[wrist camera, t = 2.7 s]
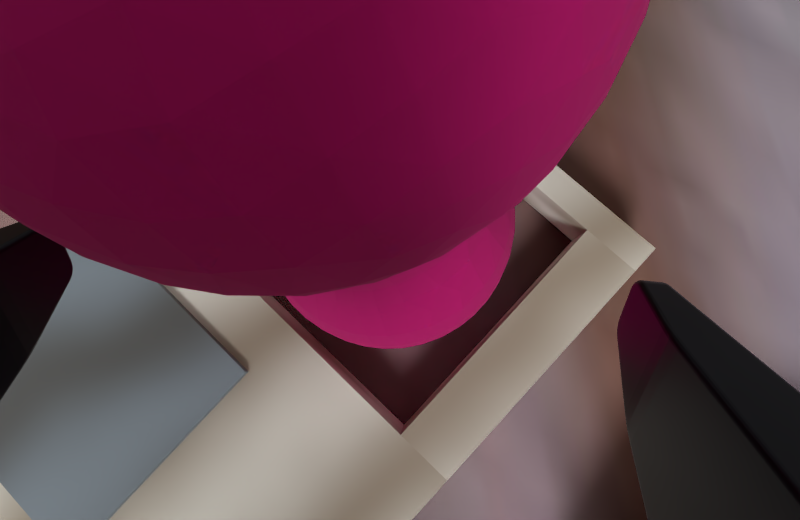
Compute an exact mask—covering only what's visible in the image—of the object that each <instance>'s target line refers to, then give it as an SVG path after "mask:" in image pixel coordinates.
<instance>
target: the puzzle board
mask: <svg viewBox="0 0 800 520" xmlns="http://www.w3.org/2000/svg"><path fill="white" fill-rule="evenodd" d="M524 200H525V201H526V202H527V203H528V204H530V205H531V206H532V207H533V208H534V209H535V210H537V211H538V212H539V213H540V214H541V215H542V216H544V217H545V218H546V219H547V220H548V221H549V222H551V223H552V224H553V225H554V226H555V227H556V228H558V229H559V230H560V231H561V232H562V233H563V234H565V235H566V236H567V237H568V238H569V239H570V240H572V241H571V242H570V243H569V244H568V246H567V247H566V248H565V249H564V250H563V251H562V252H561V253H560V254H559V255H558V257H557V258H556V259H555V260H554V261H553V262H552V263H551V264H550V265H549V266H548V267H547V269H546V270H545V271H544V272H543V273H542V274H541V275H540V276H539V277H538V278H537V280H536V281H535V282H534V283H533V284H532V285H531V286H530V287H529V288H528V289H527V291H526V292H525V293H524V294H523V295H522V296H521V297H520V298H519V299H518V300H517V302H516V303H515V304H514V305H513V306H512V307H511V308H510V309H509V310H508V311H507V312H506V314H505V315H504V316H503V317H502V318H501V319H500V320H499V321H498V322H497V323H496V325H495V326H494V327H493V328H492V329H491V330H490V331H489V332H488V333H487V334H486V336H485V337H484V338H483V339H482V340H481V341H480V342H479V343H478V344H477V345H476V346H475V348H474V349H473V350H472V351H471V352H470V353H469V354H468V355H467V356H466V357H465V359H464V360H463V361H462V362H461V363H460V364H459V365H458V366H457V367H456V368H455V370H454V371H453V372H452V373H451V374H450V375H449V376H448V377H447V378H446V379H445V381H444V382H443V383H442V384H441V385H440V386H439V387H438V388H437V389H436V390H435V391H434V393H433V394H432V395H431V396H430V397H429V398H428V399H427V400H426V401H425V402H424V404H423V405H422V406H421V407H420V408H419V409H418V410H417V411H416V412H415V413H414V415H413V416H412V417H411V418H410V419H409V420H408V421H407V422H406V423H405V424H403V423H402V422H401V421H400V420H399V419H398V418H396V417H395V416H394V415H393V414H392V413H391V412H390V411H389V410H388V409H387V408H386V407H385V406H384V405H383V404H382V403H381V402H380V401H379V400H378V399H377V398H376V397H375V396H374V395H373V394H372V393H371V392H370V391H369V390H368V389H367V388H366V387H365V386H364V385H363V384H362V383H361V382H360V381H359V380H358V379H357V378H356V377H355V376H354V375H353V374H351V373H350V372H349V371H348V370H347V369H346V368H345V367H344V366H343V365H342V364H341V363H340V362H339V361H338V360H337V359H336V358H335V357H334V356H333V355H332V354H331V353H330V352H329V351H328V350H327V349H326V348H325V347H324V346H323V345H322V344H321V343H320V342H319V341H318V340H317V339H316V338H315V337H314V336H313V335H312V334H311V333H310V332H309V331H308V330H306V329H305V328H304V327H303V326H302V325H301V324H300V323H299V322H298V321H297V320H296V319H295V318H294V317H293V316H292V315H291V314H290V313H289V312H288V311H287V310H286V309H285V308H284V307H283V306H282V305H281V304H280V303H279V302H278V301H277V300H276V299H275V298H274V297H273V296H226V295H220V294H214V293H209V292H203V291H197V290H191V289H185V288H179V287H173V286H167V285H163V284H160V283H157V282H154V281H151V280H148V279H145V278H142V277H139V276H136V275H134V274H131V273H128V272H125V271H122V270H119V269H116V268H113V267H110V266H108V265H105V264H102V263H99V262H96V261H93V260H90V259H87V258H84V257H82V256H80V255H78V254H77V253H75V252H73V251H71V250H69V249H67V248H66V250H67V252H68V254H69V257H70V259H71V261H72V265H73V273H72V277H71V280H70V282H69V283H68V285H67V287H66V289H65V291H64V293H63V295H62V297H61V299H60V301H59V302H58V304H57V306H56V308H55V310H54V312H53V314H52V316H51V318H50V320H49V321H48V323H47V325H46V327H45V329H44V331H43V333H42V335H41V337H40V339H39V340H38V342H37V344H36V346H35V348H34V350H33V351H32V353H31V355H30V357H29V358H28V360H27V361H26V363H25V365H24V366H23V368H22V369H21V371H20V372H19V374H18V375H17V377H16V378H15V380H14V381H13V383H12V384H11V386H10V387H9V389H8V390H7V392H6V393H5V395H4V396H3V398H2V399H1V401H0V520H412V519H413V518H414V517H415V516H416V515H417V514H418V513H419V512H420V510H421V509H422V508H423V507H424V506H425V505H426V504H427V503H428V502H429V500H430V499H431V498H432V497H433V496H434V495H435V494H436V493H437V492H438V490H439V489H440V488H441V487H442V486H443V485H444V484H445V483H446V481H447V480H448V479H449V478H450V477H451V476H452V475H453V474H454V473H455V471H456V470H457V469H458V468H459V467H460V466H461V465H462V464H463V463H464V461H465V460H466V459H467V458H468V457H469V456H470V455H471V454H472V453H473V451H474V450H475V449H476V448H477V447H478V446H479V445H480V444H481V442H482V441H483V440H484V439H485V438H486V437H487V436H488V435H489V434H490V432H491V431H492V430H493V429H494V428H495V427H496V426H497V425H498V424H499V422H500V421H501V420H502V419H503V418H504V417H505V416H506V415H507V413H508V412H509V411H510V410H511V409H512V408H513V407H514V406H515V405H516V403H517V402H518V401H519V400H520V399H521V398H522V397H523V396H524V395H525V393H526V392H527V391H528V390H529V389H530V388H531V387H532V386H533V384H534V383H535V382H536V381H537V380H538V379H539V378H540V377H541V376H542V374H543V373H544V372H545V371H546V370H547V369H548V368H549V367H550V366H551V364H552V363H553V362H554V361H555V360H556V359H557V358H558V357H559V355H560V354H561V353H562V352H563V351H564V350H565V349H566V348H567V347H568V345H569V344H570V343H571V342H572V341H573V340H574V339H575V338H576V337H577V335H578V334H579V333H580V332H581V331H582V330H583V329H584V328H585V326H586V325H587V324H588V323H589V322H590V321H591V320H592V319H593V318H594V316H595V315H596V314H597V313H598V312H599V311H600V310H601V309H602V308H603V306H604V305H605V304H606V303H607V302H608V301H609V300H610V299H611V298H612V296H613V295H614V294H615V293H616V292H617V291H618V290H619V289H620V287H621V286H622V285H623V284H624V283H625V282H626V281H627V280H628V279H629V277H630V276H631V275H632V274H633V273H634V272H635V271H636V270H637V269H638V267H639V266H640V265H641V264H642V263H643V262H644V261H645V260H646V258H647V257H648V256H649V255H650V254H651V253H652V252H653V251H654V250H655V247H653V246H652V245H651V244H650V243H649V242H647V241H646V240H645V239H644V238H643V237H641V236H640V235H639V234H638V233H637V232H635V231H634V230H633V229H632V228H631V227H629V226H628V225H627V224H626V223H625V222H624V221H622V220H621V219H620V218H619V217H618V216H616V215H615V214H614V213H613V212H612V211H610V210H609V209H608V208H607V207H606V206H604V205H603V204H602V203H601V202H600V201H598V200H597V199H596V198H595V197H594V196H592V195H591V194H590V193H589V192H588V191H586V190H585V189H584V188H583V187H582V186H581V185H579V184H578V183H577V182H576V181H575V180H573V179H572V178H571V177H570V176H569V175H567V174H566V173H565V172H564V171H563V170H561V169H560V168H559V167H558V166H557V165H556V166H555V168H554V169H553V170H552V171H551V172H550V173H549V174H548V175H547V176H546V177H545V178H544V179H543V180H542V181H541V182H540V183H539V184H538V185H537V186H536V187H535V188H534V189H533V190H532V191H531V192H530V193H529V194H528V195H527V196H526V197H525V198H524Z"/></svg>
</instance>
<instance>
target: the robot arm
mask: <svg viewBox="0 0 800 520" xmlns="http://www.w3.org/2000/svg"><path fill="white" fill-rule="evenodd" d="M72 273H73V265H72V261H71V259H70V257H69V254H68V252H67V250H66V248H65V247H64V246H62V245H60V244H58V243H56V242H54V241H52V240H51V239H49V238H47V237H45V236H43V235H41V234H39V233H38V232H36V231H34V230H32V229H30V228H28V227H26V226H25V225H23V224H21V223H20V222H18V223H15V224H12V225H9V226H6V227H3V228H1V229H0V401H1V399H2V398H3V396H4V395H5V393H6V392H7V390H8V389H9V387H10V386H11V384H12V383H13V381H14V380H15V378H16V377H17V375H18V374H19V372H20V371H21V369H22V368H23V366H24V365H25V363H26V361H27V360H28V358H29V357H30V355H31V353H32V351H33V350H34V348H35V346H36V344H37V342H38V340H39V339H40V337H41V335H42V333H43V331H44V329H45V327H46V325H47V323H48V321H49V320H50V318H51V316H52V314H53V312H54V310H55V308H56V306H57V304H58V302H59V301H60V299H61V297H62V295H63V293H64V291H65V289H66V287H67V285H68V283H69V282H70V280H71V277H72ZM617 339H618V349H619V359H620V369H621V378H622V388H623V398H624V408H625V416H626V424H627V430H628V435H629V440H630V445H631V449H632V454H633V458H634V462H635V467H636V471H637V475H638V480H639V484H640V488H641V493H642V497H643V501H644V506H645V510H646V514H647V519H648V520H800V392H798V391H797V390H796V389H795V388H794V387H792V386H791V385H790V384H789V383H787V382H786V381H785V380H784V379H783V378H781V377H780V376H779V375H778V374H776V373H775V372H774V371H773V370H772V369H770V368H769V367H768V366H767V365H766V364H764V363H763V362H762V361H761V360H759V359H758V358H757V357H756V356H755V355H753V354H752V353H751V352H750V351H748V350H747V349H746V348H745V347H744V346H742V345H741V344H740V343H739V342H737V341H736V340H735V339H734V338H733V337H731V336H730V335H729V334H728V333H727V332H725V331H724V330H723V329H722V328H720V327H719V326H718V325H717V324H716V323H714V322H713V321H712V320H711V319H709V318H708V317H707V316H706V315H705V314H703V313H702V312H701V311H700V310H699V309H697V308H696V307H695V306H694V305H692V304H691V303H690V302H689V301H688V300H686V299H685V298H684V297H683V296H681V295H680V294H679V293H678V292H677V291H675V290H674V289H673V288H672V287H671V286H669V285H668V284H666V283H663V282H653V281H643V280H640V281H637V282H635V283H634V285H633V286H632V288H631V290H630V293H629V296H628V298H627V301H626V303H625V306H624V308H623V311H622V314H621V316H620V319H619V322H618V328H617Z"/></svg>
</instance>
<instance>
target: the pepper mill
mask: <svg viewBox="0 0 800 520" xmlns="http://www.w3.org/2000/svg"><path fill="white" fill-rule="evenodd" d="M649 2H650V0H0V210H1V211H3V212H5V213H6V214H8V215H9V216H11V217H12V218H14V219H15V220H17V221H18V222H20V223H21V224H23V225H25V226H26V227H28V228H30V229H32V230H34V231H36V232H38V233H39V234H41V235H43V236H45V237H47V238H49V239H51V240H52V241H54V242H56V243H58V244H60V245H62V246H64V247H65V248H67V249H69V250H71V251H73V252H75V253H77V254H78V255H80V256H82V257H84V258H87V259H90V260H93V261H96V262H99V263H102V264H105V265H108V266H110V267H113V268H116V269H119V270H122V271H125V272H128V273H131V274H134V275H136V276H139V277H142V278H145V279H148V280H151V281H154V282H157V283H160V284H163V285H167V286H173V287H179V288H185V289H191V290H197V291H203V292H209V293H214V294H220V295H226V296H286V298H287V299H288V300H289V302H290V303H291V304H292V305H293V306H294V307H295V308H296V309H297V310H298V311H299V312H300V313H301V314H302V315H303V316H304V317H305V318H306V319H308V320H309V321H310V322H312V323H313V324H315V325H316V326H318V327H319V328H320V329H322V330H324V331H326V332H328V333H330V334H332V335H334V336H336V337H338V338H340V339H342V340H345V341H347V342H351V343H354V344H358V345H361V346H365V347H373V348H382V349H393V348H406V347H411V346H417V345H422V344H425V343H427V342H430V341H433V340H436V339H438V338H441V337H443V336H445V335H446V334H448V333H450V332H452V331H453V330H455V329H457V328H459V327H460V326H461V325H463V324H464V323H465V322H466V321H468V320H469V319H470V318H471V317H472V316H474V315H475V314H476V313H477V312H478V311H479V309H480V308H481V307H482V306H483V305H484V304H485V303H486V302H487V300H488V299H489V298H490V296H491V294H492V293H493V291H494V290H495V288H496V287H497V285H498V283H499V281H500V279H501V277H502V274H503V272H504V270H505V267H506V265H507V262H508V260H509V257H510V253H511V248H512V243H513V238H514V233H515V206H516V205H518V204H519V203H520V202H521V201H522V200H523V199H524V198H525V197H526V196H527V195H528V194H529V193H530V192H531V191H532V190H533V189H534V188H535V187H536V186H537V185H538V184H539V183H540V182H541V181H542V180H543V179H544V178H545V177H546V176H547V175H548V174H549V173H550V172H551V171H552V170H553V169H554V168H555V166H556V165H557V164H558V162H559V161H560V160H561V158H562V157H563V155H564V154H565V153H566V151H567V150H568V149H569V147H570V146H571V144H572V143H573V142H574V140H575V139H576V138H577V136H578V135H579V133H580V132H581V131H582V129H583V128H584V127H585V125H586V124H587V122H588V121H589V120H590V118H591V117H592V116H593V114H594V113H595V112H596V110H597V109H598V107H599V106H600V105H601V103H602V102H603V101H604V99H605V98H606V96H607V94H608V92H609V90H610V88H611V86H612V84H613V82H614V80H615V78H616V76H617V74H618V72H619V70H620V67H621V65H622V63H623V61H624V59H625V57H626V55H627V53H628V51H629V49H630V47H631V45H632V43H633V41H634V39H635V37H636V34H637V32H638V30H639V28H640V26H641V24H642V22H643V20H644V18H645V16H646V12H647V9H648V6H649Z"/></svg>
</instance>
